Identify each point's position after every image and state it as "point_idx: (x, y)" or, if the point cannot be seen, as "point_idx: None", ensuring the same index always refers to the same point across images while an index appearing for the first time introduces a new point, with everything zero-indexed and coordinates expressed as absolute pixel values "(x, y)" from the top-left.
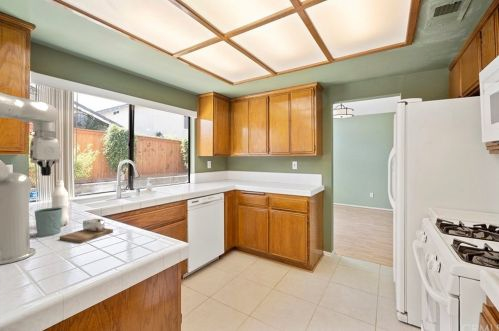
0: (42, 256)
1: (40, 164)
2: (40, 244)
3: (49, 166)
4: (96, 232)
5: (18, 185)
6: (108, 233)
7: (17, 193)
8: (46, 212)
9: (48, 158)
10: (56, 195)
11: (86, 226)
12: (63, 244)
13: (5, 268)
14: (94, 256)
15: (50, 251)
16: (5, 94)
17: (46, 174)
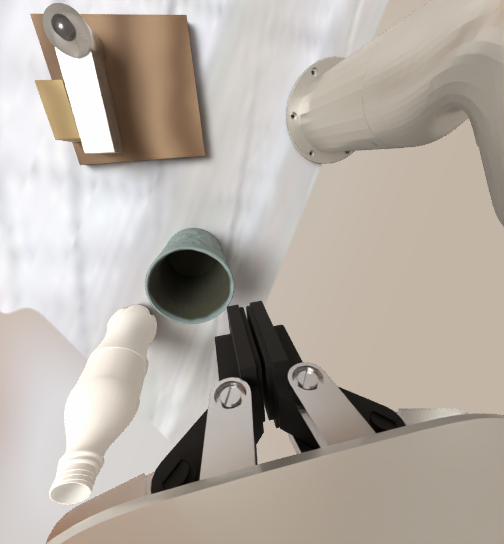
0: (300, 27)
1: (356, 396)
2: (250, 164)
3: (243, 381)
4: (105, 53)
5: None
6: None
7: None
8: (213, 252)
9: (346, 481)
10: (125, 389)
11: (114, 128)
12: (221, 85)
13: (372, 35)
14: None
15: (270, 53)
16: None
17: (262, 303)
